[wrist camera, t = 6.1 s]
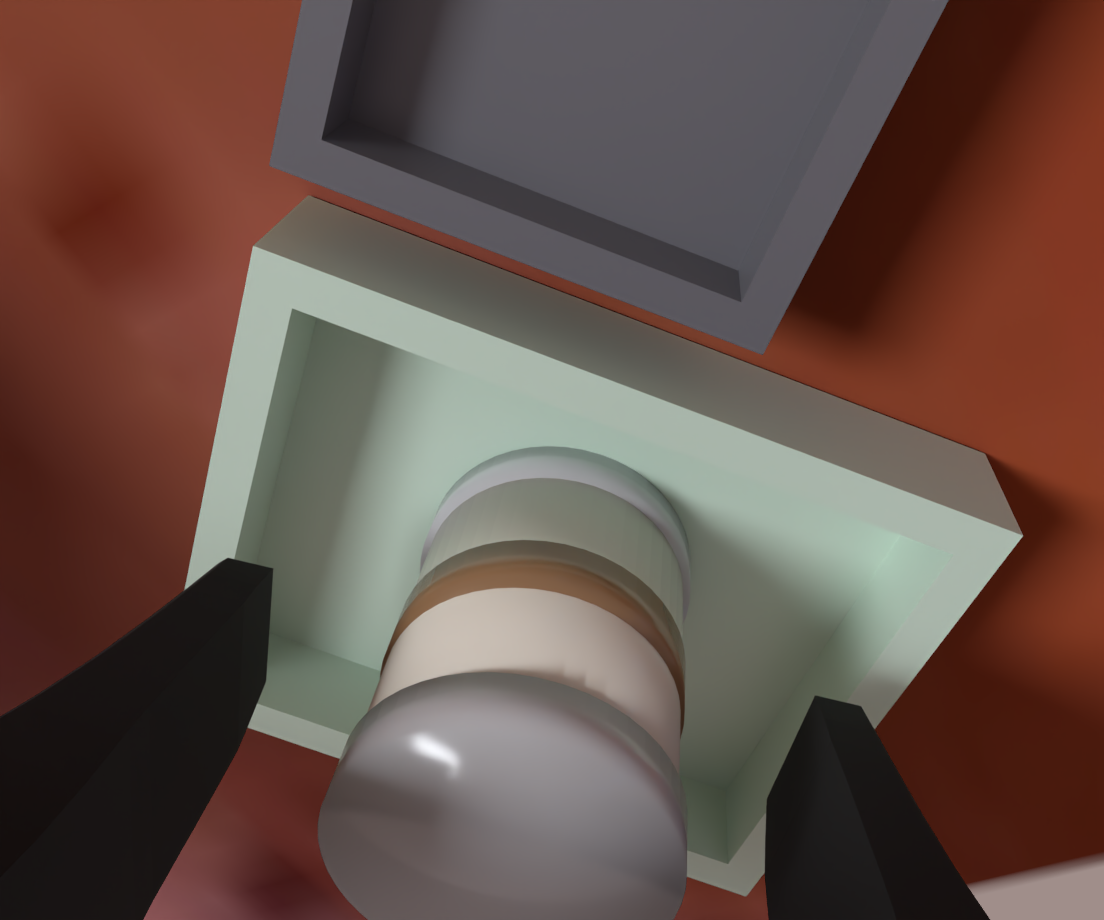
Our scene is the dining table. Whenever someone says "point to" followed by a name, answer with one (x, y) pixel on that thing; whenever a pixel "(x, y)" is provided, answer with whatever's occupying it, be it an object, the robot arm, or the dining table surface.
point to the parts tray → (593, 425)
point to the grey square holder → (608, 133)
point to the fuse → (526, 708)
